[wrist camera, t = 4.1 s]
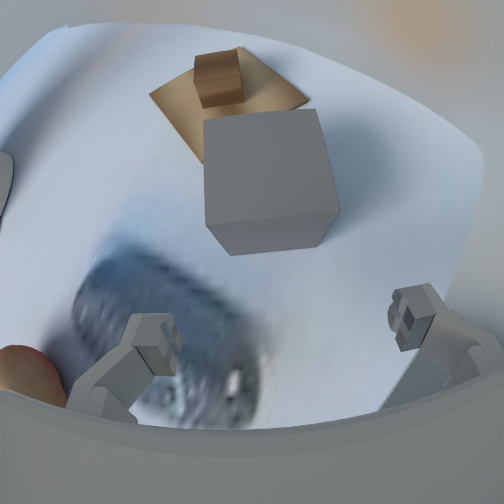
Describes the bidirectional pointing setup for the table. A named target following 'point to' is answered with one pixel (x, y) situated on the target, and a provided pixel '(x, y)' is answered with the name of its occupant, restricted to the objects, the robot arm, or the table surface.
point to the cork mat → (255, 100)
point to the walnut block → (218, 79)
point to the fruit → (31, 375)
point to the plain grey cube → (267, 181)
